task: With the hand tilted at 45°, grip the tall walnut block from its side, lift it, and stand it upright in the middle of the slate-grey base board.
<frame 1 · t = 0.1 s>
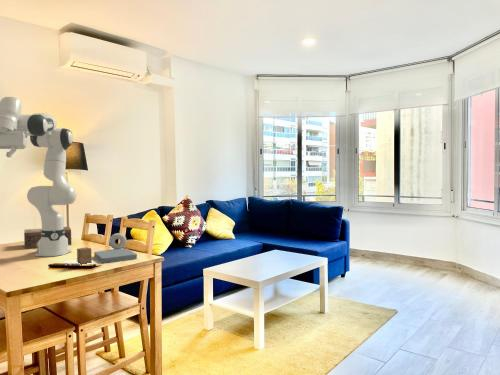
walnut block: (84, 266, 194), on the table
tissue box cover: (48, 245, 246), on the table
base board: (115, 257, 213), on the table
donut: (117, 249, 233), on the table
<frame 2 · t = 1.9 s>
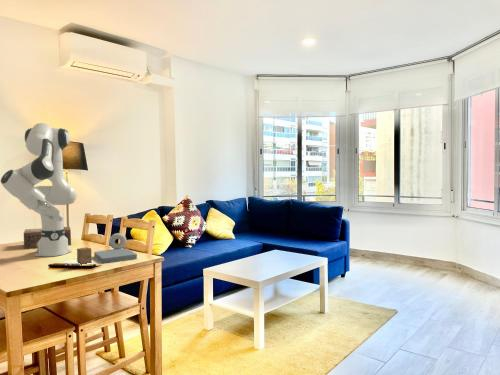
hand: (57, 219, 183), 25 cm above the table, tool tilted 45°, fingers open, 8 cm apart
nothing on the table moved.
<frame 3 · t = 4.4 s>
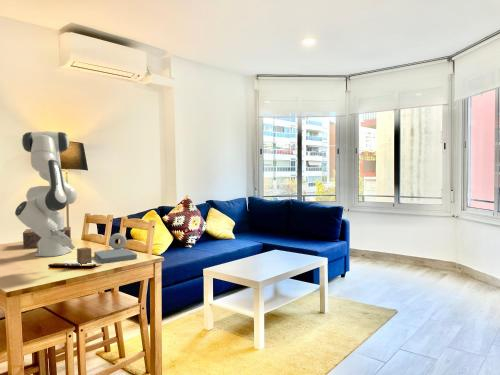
hand: (69, 246, 188), 11 cm above the table, tool tilted 45°, fingers open, 8 cm apart
nothing on the table moved.
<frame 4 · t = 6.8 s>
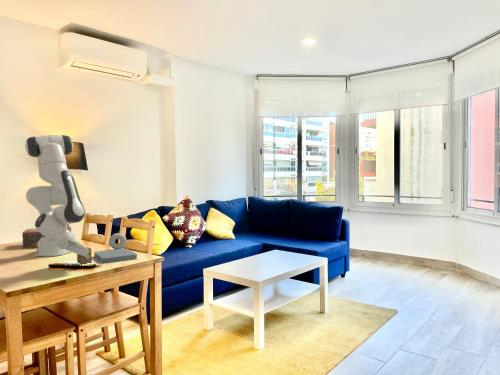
hand: (85, 256, 194), 5 cm above the table, tool tilted 45°, fingers closed on walnut block, 5 cm apart
walnut block: (84, 266, 194), on the table, touching gripper
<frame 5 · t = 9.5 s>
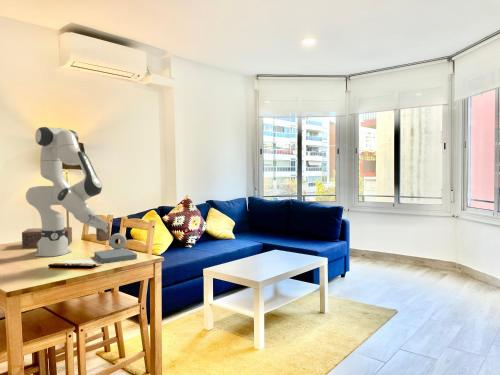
hand: (104, 230, 205), 16 cm above the table, tool tilted 45°, fingers closed on walnut block, 5 cm apart
walnut block: (103, 240, 205), point 11 cm above the table, touching gripper
when the fingers open (9 cm above the table, at t = 12.3 s): walnut block drops 1 cm, resting on base board.
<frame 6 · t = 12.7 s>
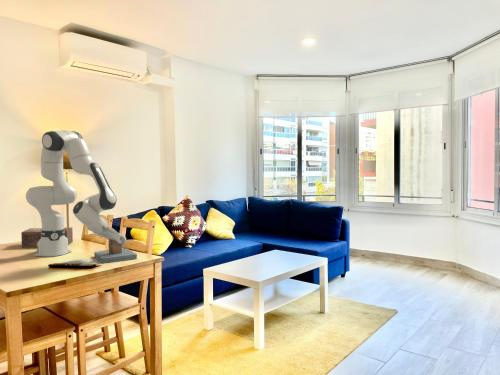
hand: (116, 241, 213), 9 cm above the table, tool tilted 45°, fingers open, 8 cm apart
walnut block: (115, 253, 213), point 2 cm above the table, touching base board
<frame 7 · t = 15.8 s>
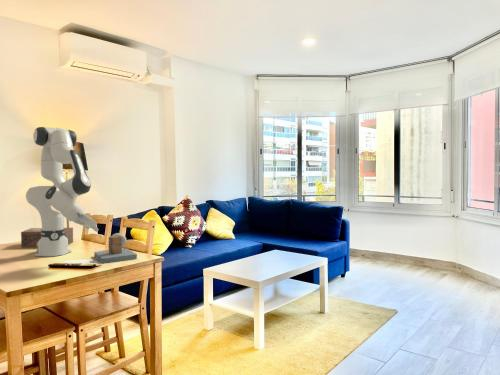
hand: (93, 229, 203), 17 cm above the table, tool tilted 45°, fingers open, 8 cm apart
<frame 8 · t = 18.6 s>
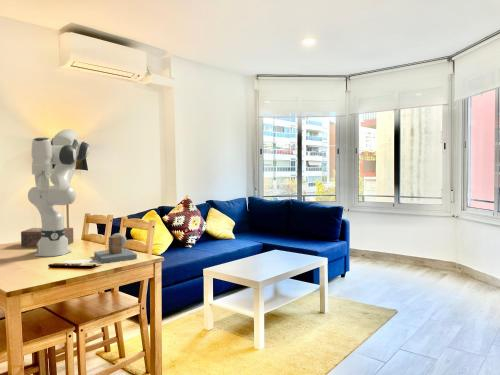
hand: (43, 199, 188), 34 cm above the table, tool pointing down, fingers open, 8 cm apart
at the end: walnut block inside the target area on the base board (0.1 cm from its centre), point 2.5 cm above the base board's base; walnut block tilted 0°; the gripper is holding nothing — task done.
